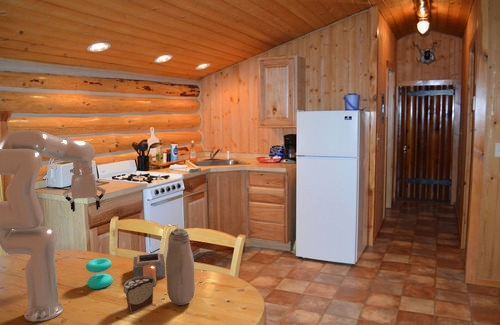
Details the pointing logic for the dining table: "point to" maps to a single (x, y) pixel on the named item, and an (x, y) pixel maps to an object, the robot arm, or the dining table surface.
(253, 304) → the dining table surface
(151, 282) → the brown piece
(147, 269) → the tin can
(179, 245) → the beige bottle
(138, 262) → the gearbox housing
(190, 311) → the dining table surface
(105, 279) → the donuts
